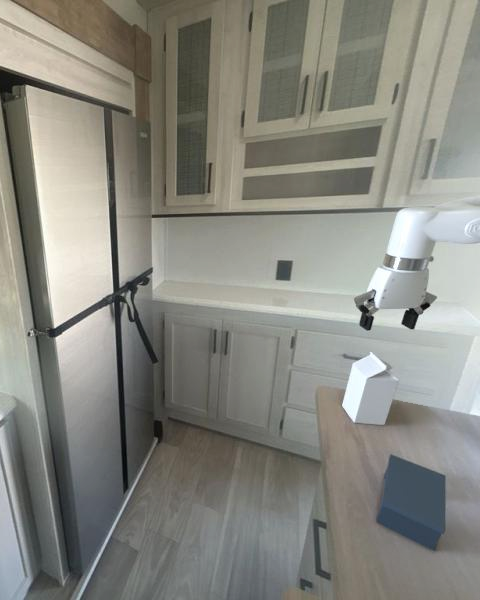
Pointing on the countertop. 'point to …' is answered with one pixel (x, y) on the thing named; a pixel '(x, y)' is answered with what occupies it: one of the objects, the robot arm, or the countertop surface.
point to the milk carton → (370, 391)
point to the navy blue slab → (413, 501)
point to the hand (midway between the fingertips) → (385, 327)
